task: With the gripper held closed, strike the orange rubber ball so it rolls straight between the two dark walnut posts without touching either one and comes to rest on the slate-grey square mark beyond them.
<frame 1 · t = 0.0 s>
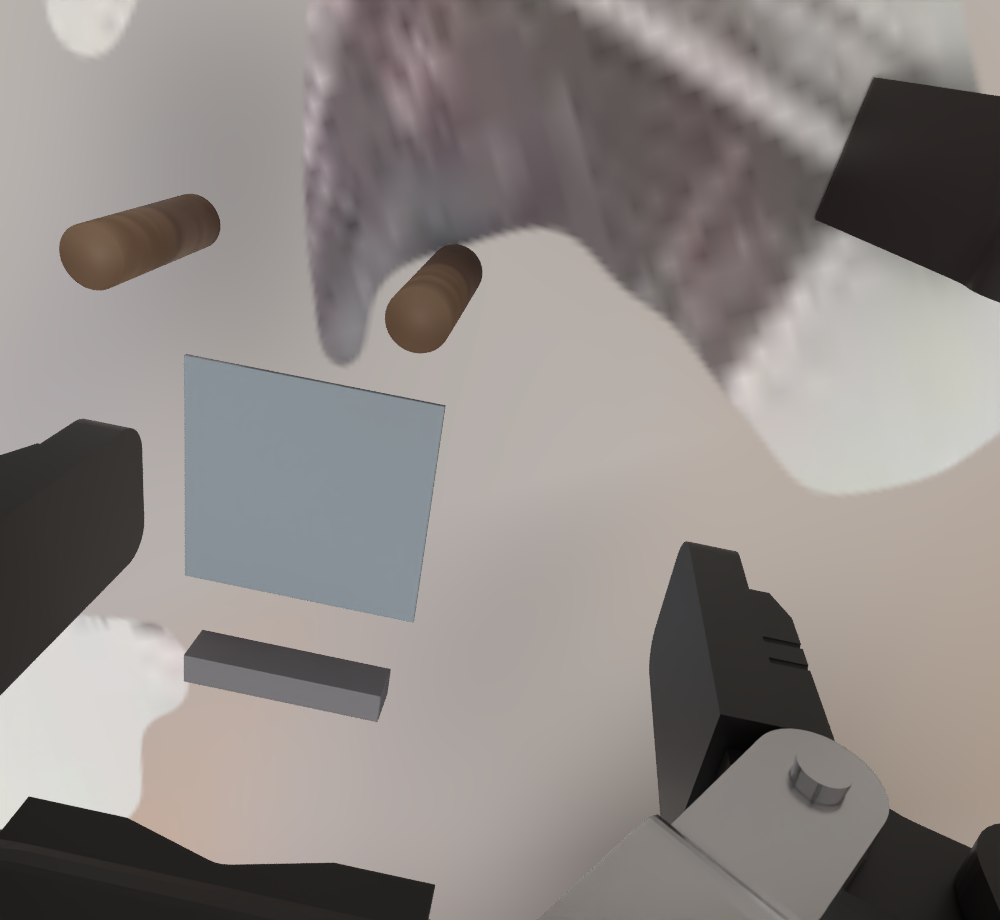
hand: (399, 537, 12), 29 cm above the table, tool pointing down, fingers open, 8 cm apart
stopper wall: (295, 662, 51), on the table
phone stand: (938, 178, 36), on the table
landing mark: (306, 495, 46), on the table
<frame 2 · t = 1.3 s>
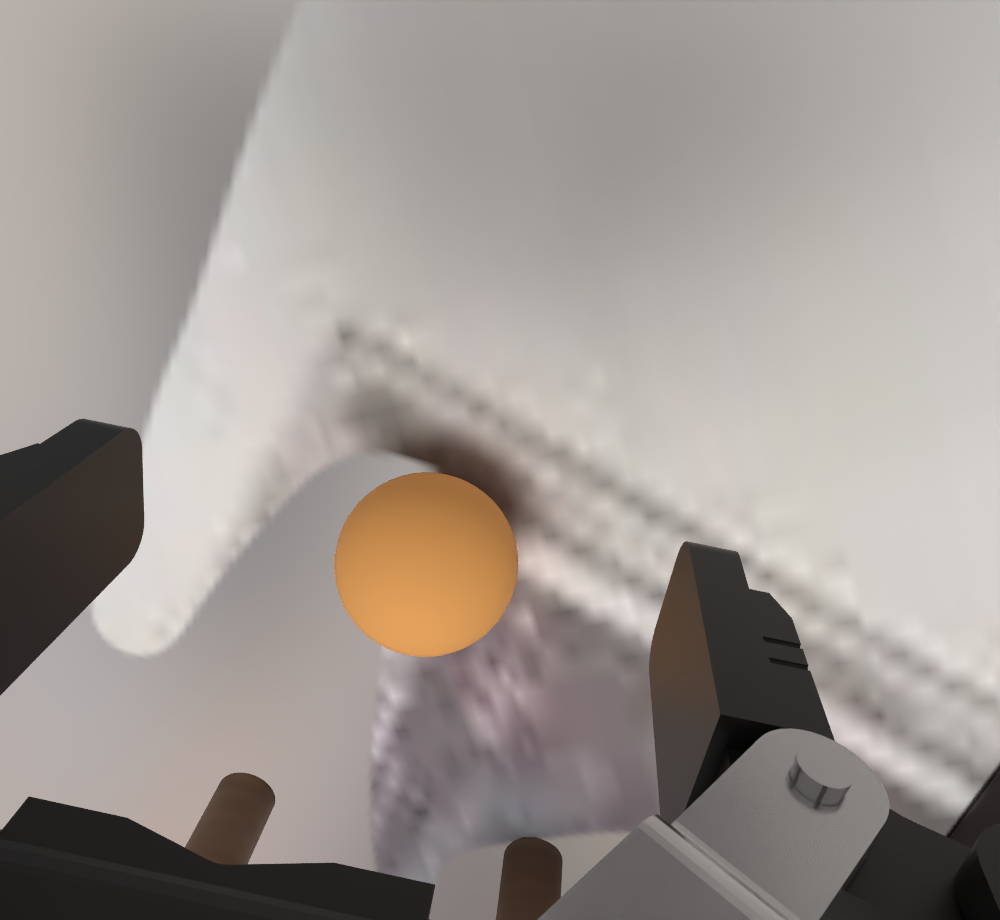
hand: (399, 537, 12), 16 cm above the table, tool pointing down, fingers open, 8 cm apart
ball: (427, 563, 27), on the table
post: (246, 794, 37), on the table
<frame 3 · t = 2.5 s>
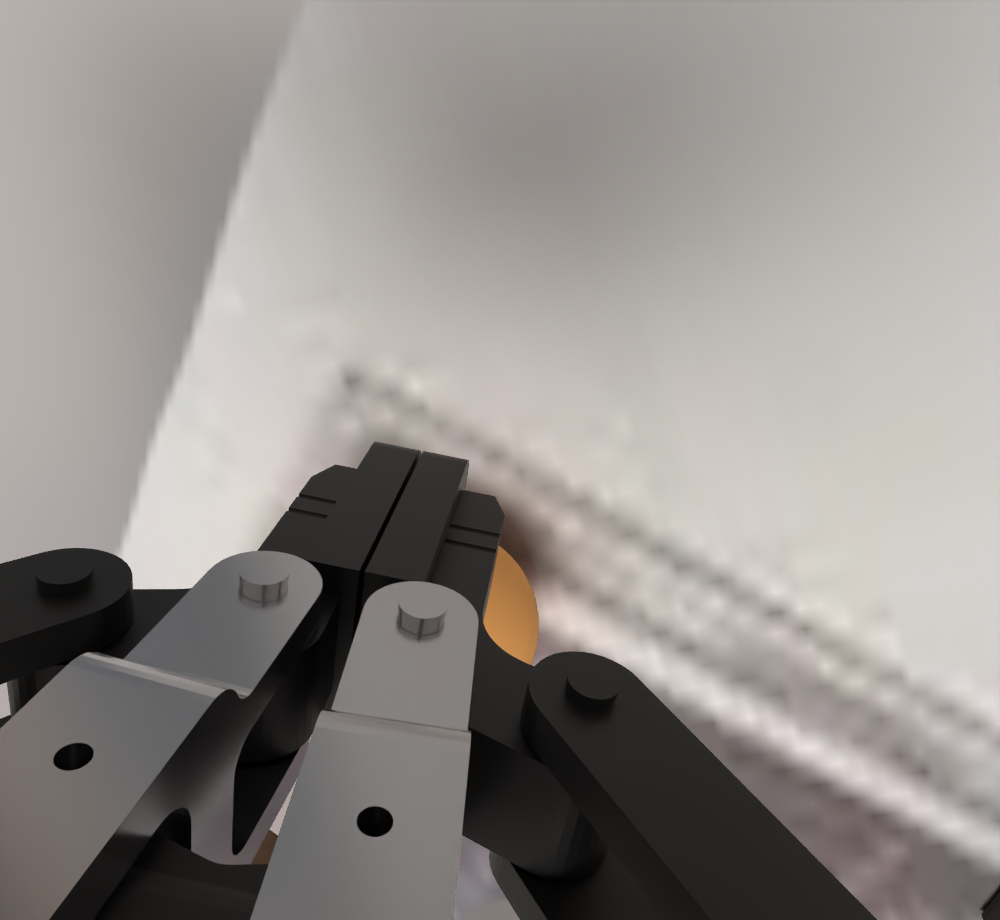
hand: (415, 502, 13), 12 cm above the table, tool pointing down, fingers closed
ball: (441, 624, 25), on the table
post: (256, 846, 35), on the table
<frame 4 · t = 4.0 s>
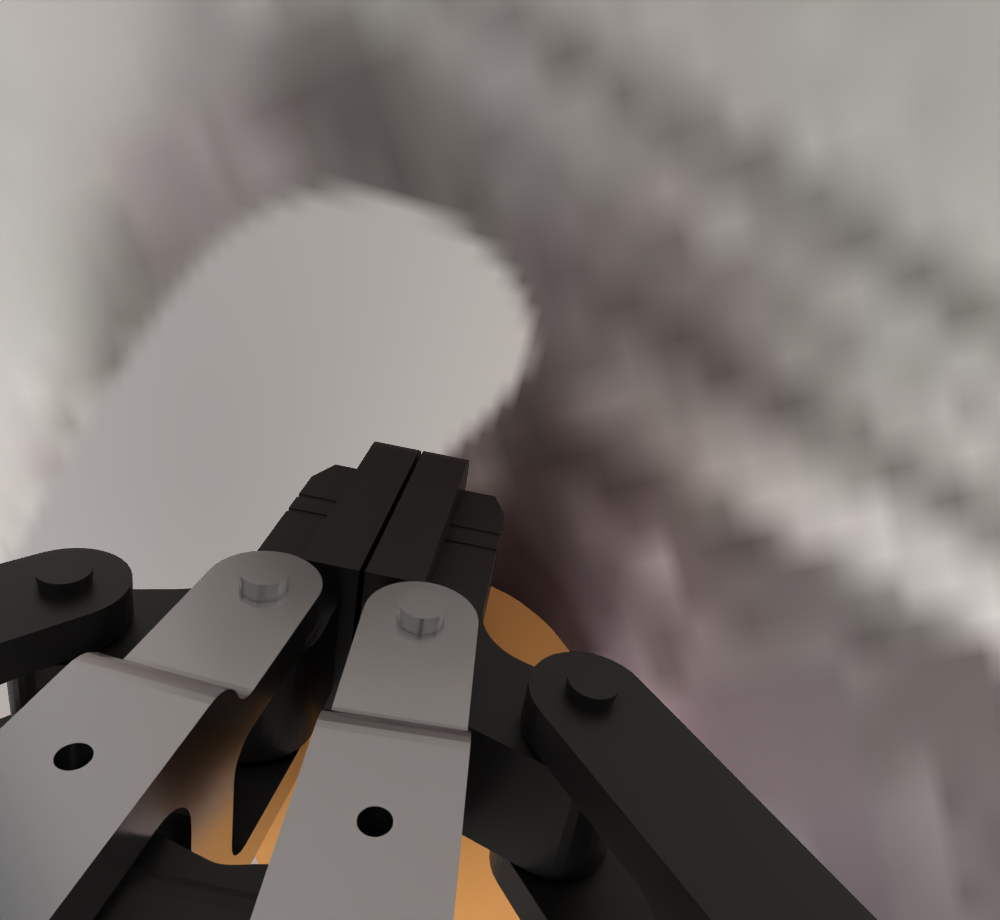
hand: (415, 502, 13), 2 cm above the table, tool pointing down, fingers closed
ball: (423, 752, 14), on the table
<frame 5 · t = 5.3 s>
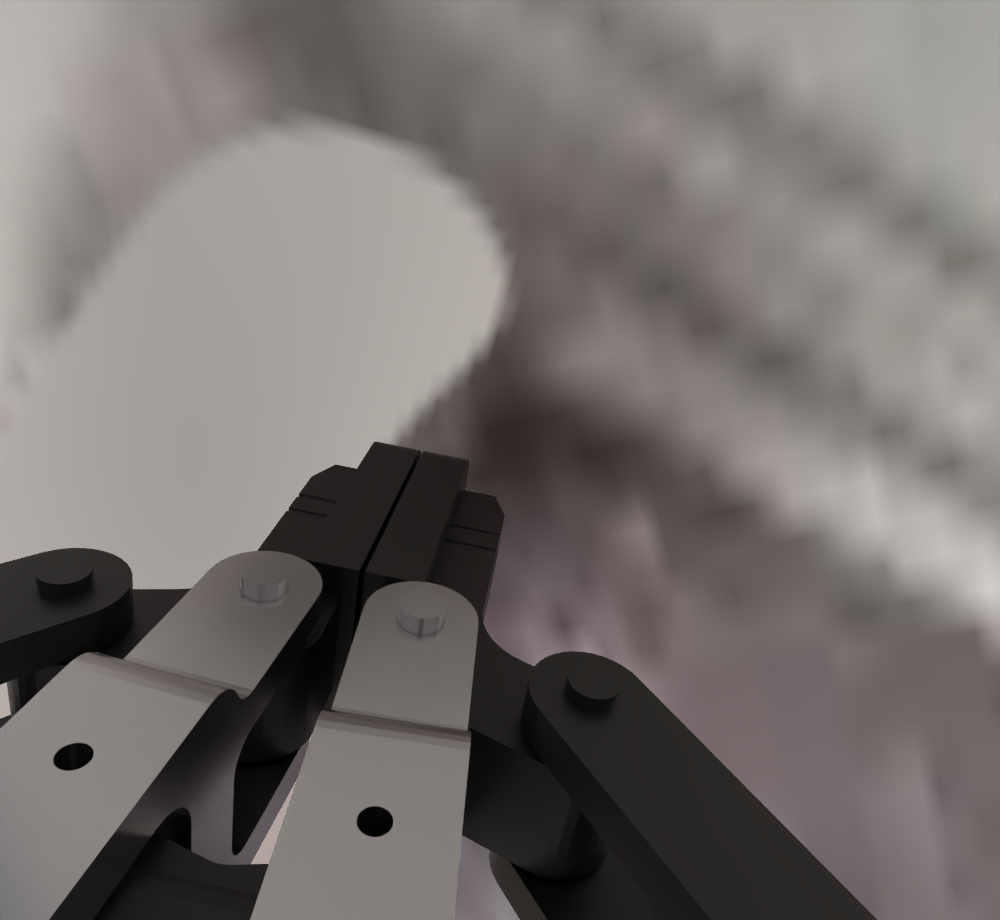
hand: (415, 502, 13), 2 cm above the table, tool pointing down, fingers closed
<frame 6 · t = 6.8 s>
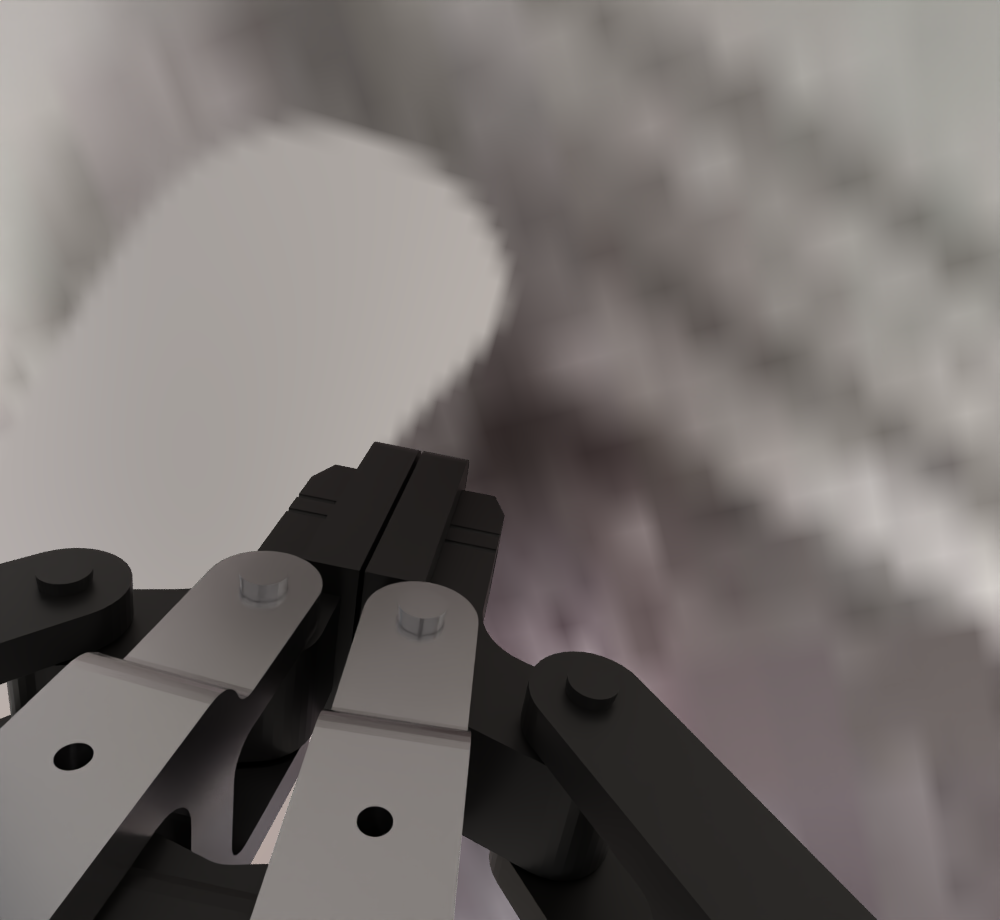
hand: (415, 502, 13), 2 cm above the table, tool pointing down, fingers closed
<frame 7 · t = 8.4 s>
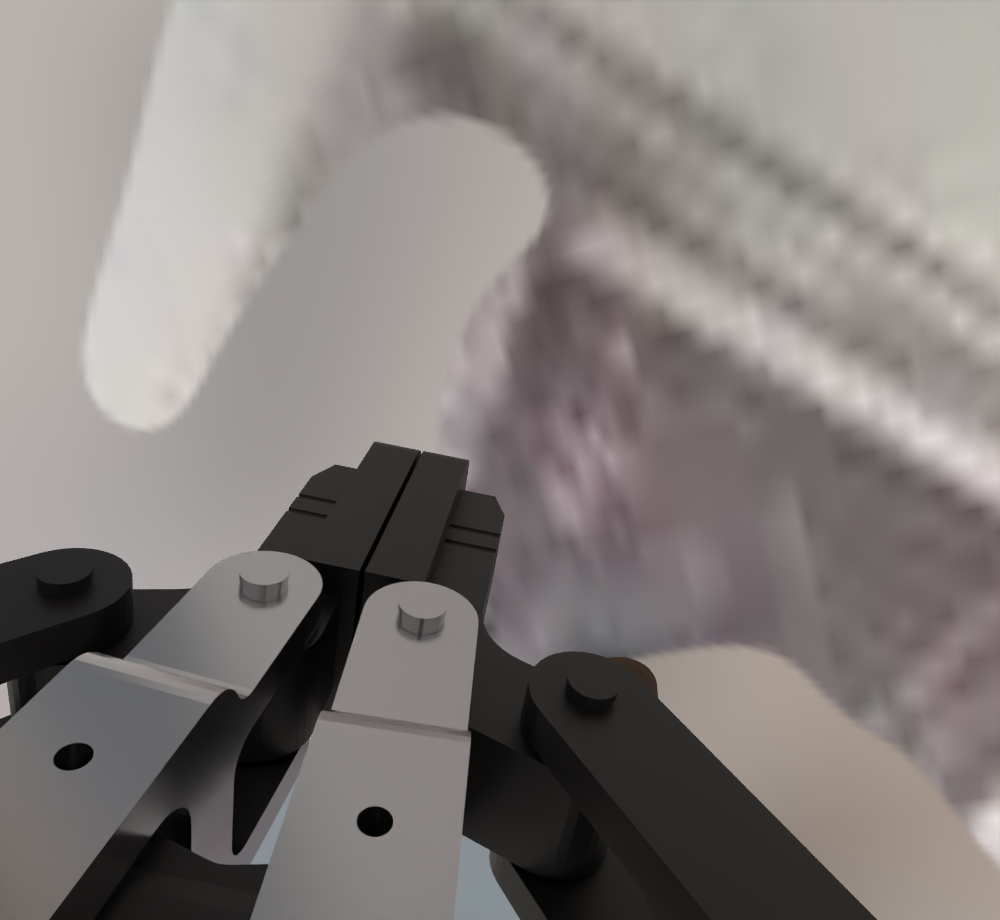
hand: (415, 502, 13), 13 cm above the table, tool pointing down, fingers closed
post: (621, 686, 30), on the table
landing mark: (404, 901, 36), on the table
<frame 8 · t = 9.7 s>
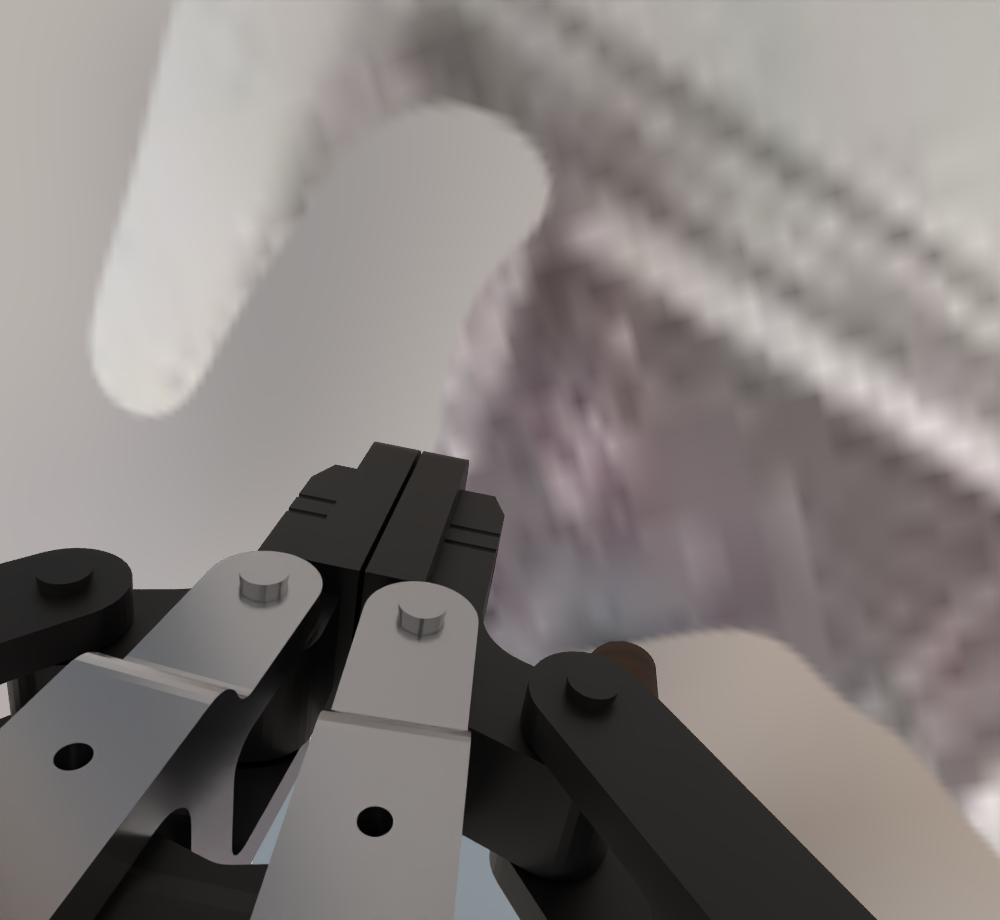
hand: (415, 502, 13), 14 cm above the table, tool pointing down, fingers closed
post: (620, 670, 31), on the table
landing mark: (406, 882, 37), on the table
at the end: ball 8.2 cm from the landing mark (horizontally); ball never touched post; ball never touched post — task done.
